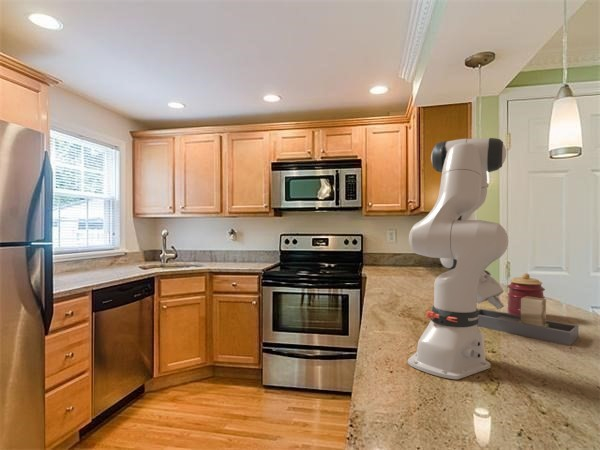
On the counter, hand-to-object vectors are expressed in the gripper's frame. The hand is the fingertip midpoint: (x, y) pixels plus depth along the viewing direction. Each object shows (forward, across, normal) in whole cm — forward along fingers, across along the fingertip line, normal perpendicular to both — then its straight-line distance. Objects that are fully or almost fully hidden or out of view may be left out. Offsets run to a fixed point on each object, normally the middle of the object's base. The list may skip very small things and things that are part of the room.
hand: (501, 307), depth 130 cm
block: (+10, 0, -4) cm, 11 cm away
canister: (+6, +24, +4) cm, 26 cm away
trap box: (+9, 0, 0) cm, 9 cm away
